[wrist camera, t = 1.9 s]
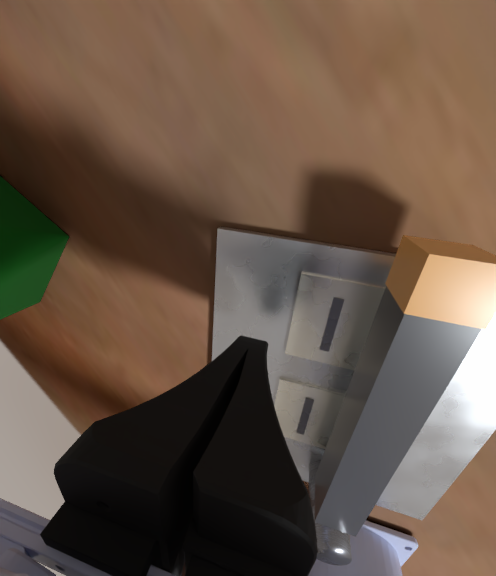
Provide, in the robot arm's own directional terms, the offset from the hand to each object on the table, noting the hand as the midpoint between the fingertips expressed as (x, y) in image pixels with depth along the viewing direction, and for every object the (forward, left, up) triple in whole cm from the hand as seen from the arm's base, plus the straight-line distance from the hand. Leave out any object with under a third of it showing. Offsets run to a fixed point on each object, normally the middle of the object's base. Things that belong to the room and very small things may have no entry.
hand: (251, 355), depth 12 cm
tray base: (-4, -5, -3) cm, 7 cm away
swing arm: (-2, -6, -1) cm, 6 cm away
